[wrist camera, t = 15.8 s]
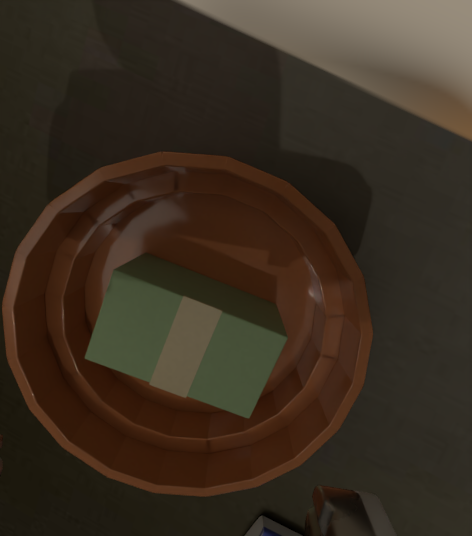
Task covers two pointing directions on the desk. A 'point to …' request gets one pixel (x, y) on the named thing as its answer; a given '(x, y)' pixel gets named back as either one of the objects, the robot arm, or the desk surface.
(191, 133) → the desk surface
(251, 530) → the hard drive
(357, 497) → the robot arm
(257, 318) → the package
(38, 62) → the desk surface
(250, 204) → the bowl
